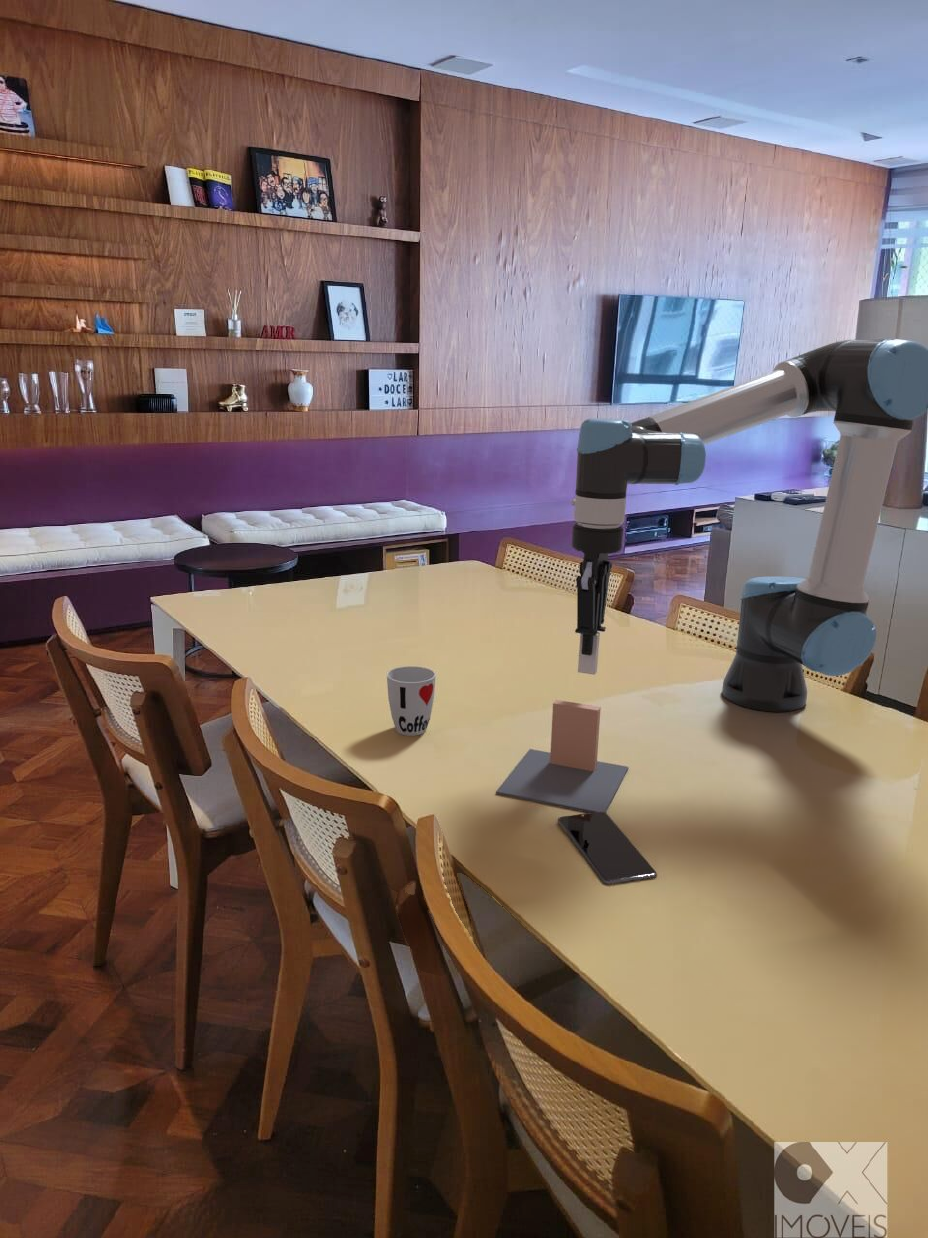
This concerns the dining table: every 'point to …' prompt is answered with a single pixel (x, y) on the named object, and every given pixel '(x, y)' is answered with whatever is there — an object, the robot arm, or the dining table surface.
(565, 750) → the slab
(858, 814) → the dining table surface
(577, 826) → the smartphone
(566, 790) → the mat
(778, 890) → the dining table surface
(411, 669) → the cup
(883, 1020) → the dining table surface
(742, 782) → the dining table surface
